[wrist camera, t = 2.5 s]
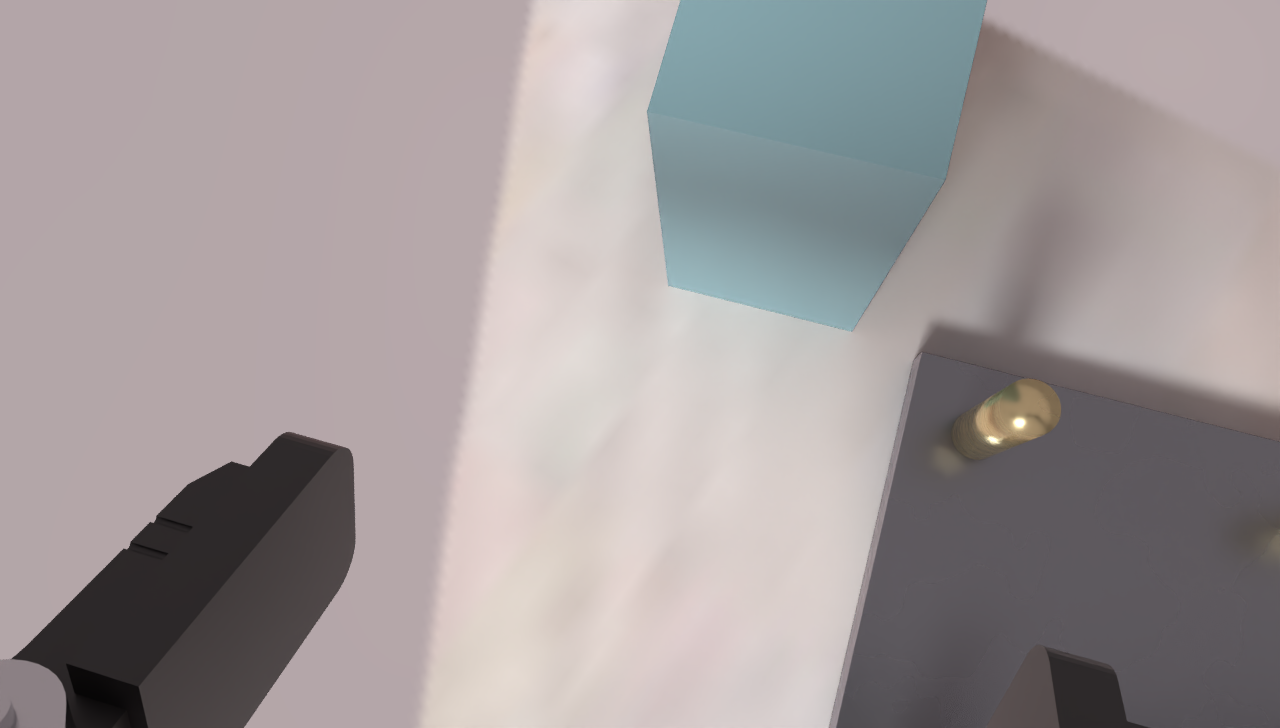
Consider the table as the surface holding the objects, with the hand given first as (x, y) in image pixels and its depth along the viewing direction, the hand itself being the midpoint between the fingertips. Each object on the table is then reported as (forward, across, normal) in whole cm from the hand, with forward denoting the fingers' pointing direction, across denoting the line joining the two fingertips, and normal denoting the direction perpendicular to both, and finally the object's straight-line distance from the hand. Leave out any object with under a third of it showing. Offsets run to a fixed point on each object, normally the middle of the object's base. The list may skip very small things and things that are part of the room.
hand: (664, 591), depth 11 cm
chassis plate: (+10, -10, +9) cm, 17 cm away
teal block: (+16, 0, +2) cm, 17 cm away
